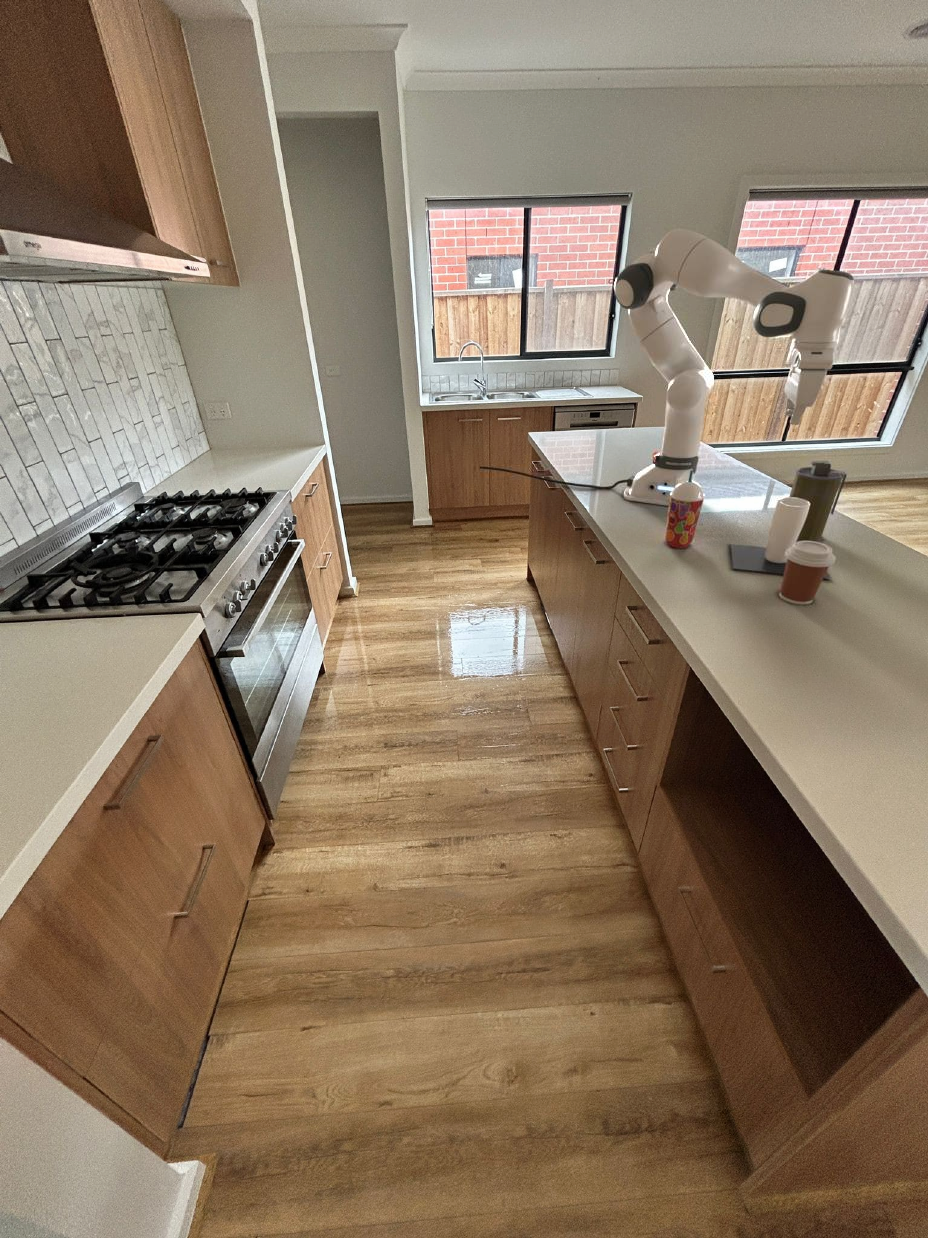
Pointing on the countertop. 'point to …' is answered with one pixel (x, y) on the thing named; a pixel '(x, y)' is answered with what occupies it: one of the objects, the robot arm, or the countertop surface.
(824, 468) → the canister
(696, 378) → the robot arm
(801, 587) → the coffee cup
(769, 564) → the place mat
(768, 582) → the countertop surface
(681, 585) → the countertop surface
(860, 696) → the countertop surface
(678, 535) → the smoothie
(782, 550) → the white tapered cylinder
